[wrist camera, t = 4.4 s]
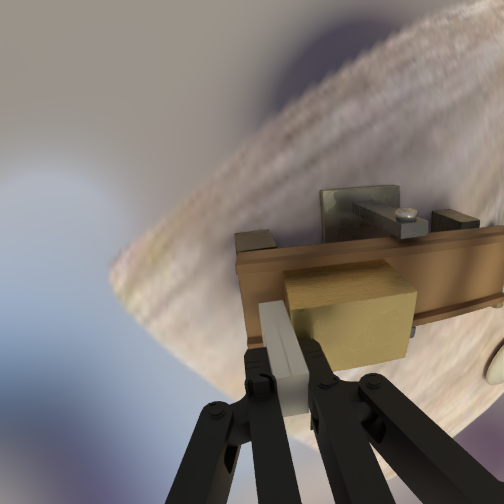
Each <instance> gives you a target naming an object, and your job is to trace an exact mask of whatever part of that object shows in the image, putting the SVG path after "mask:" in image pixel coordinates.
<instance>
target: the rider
mask: <svg viewBox="0 0 504 504" xmlns="http://www.w3.org/2000/svg"><path fill="white" fill-rule="evenodd" d="M283 281H284V294H285V308H286V310H287V313H288V316H289V319H290V321H291V324H292V327H293V329H294V332H295V335H296V338H297V340H298V341H301V340H306V339H312V338H313V339H315V340H316V341H317V342H319V343H320V345H321V348H322V351H323V352H324V354H325V356H326V358H327V361H328V363H329V365H330V367H331V369H332V372H334V371H340V370H346V369H351V368H357V367H362V366H367V365H372V364H377V363H382V362H386V361H391V360H395V359H400V358H404V357H405V356H406V352H407V347H408V343H409V338H410V333H411V328H412V322H413V317H414V311H415V304H416V298H417V291H416V290H415V289H414V288H413V287H412V286H411V285H410V284H409V283H408V282H407V281H406V280H405V279H404V278H403V277H402V276H401V275H400V274H399V273H398V272H397V271H396V270H395V269H394V268H393V267H392V266H391V265H390V264H388V263H387V262H386V261H385V260H384V259H379V260H371V261H363V262H354V263H346V264H337V265H329V266H320V267H311V268H302V269H292V270H283Z"/></svg>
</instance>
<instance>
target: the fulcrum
mask: <svg viewBox="0 0 504 504" xmlns="http://www.w3.org/2000/svg"><path fill="white" fill-rule="evenodd" d="M320 198H321V215H322V235H323V244H326V243H335V242H345V241H355V240H365V239H375V238H384V237H394V236H396V237H398V238H400V239H404V238H411V237H418V236H425V235H428V222H429V221H427V220H425V219H422V218H420V217H417V210H415V209H412V208H400V189H399V186H397V185H387V186H371V187H356V188H343V189H331V190H320ZM479 227H480V220H479V219H476V218H473V217H471V216H468V215H465V214H462V213H460V212H457V211H454V210H451V209H450V210H439V211H432V226H431V233H433V232H443V231H453V230H463V229H473V228H479ZM235 244H236V255H237V254H238V252H248V251H258V250H267V249H277V245H276V243H275V241H274V239H273V238H272V236H271V234H270V232H269V230H268V229H267V230H259V231H251V232H244V233H236V234H235ZM415 329H416V327H415V326H414V327H412V328H411V333H410V338H413V337H414V334H415Z"/></svg>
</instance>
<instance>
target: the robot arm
mask: <svg viewBox="0 0 504 504" xmlns="http://www.w3.org/2000/svg"><path fill="white" fill-rule="evenodd" d="M258 305H259V313H260V321H261V330H262V338H263V344H264V347H261V348H253V349H247V351H246V353H245V355H244V363H245V374H246V380H245V389H246V395H245V396H244V397H243V398H242V399H241V400H240V401H237V402H235V403H233V404H230V405H229V404H227V403H226V402H221V401H215V402H212V403H209V404H207V405H206V406H205V407H204V408H203V409H202V411H201V413H200V416H199V419H198V421H197V424H196V426H195V429H194V431H193V434H192V436H191V439H190V442H189V444H188V446H187V449H186V452H185V454H184V457H183V459H182V462H181V464H180V467H179V469H178V472H177V474H176V477H175V479H174V482H173V485H172V487H171V489H170V492H169V494H168V497H167V499H166V502H165V504H226V503H227V499H228V496H229V492H230V488H231V484H232V480H233V476H234V472H235V468H236V464H237V460H238V456H239V452H240V448H241V445H242V444H244V443H247V442H249V441H251V442H252V451H253V461H254V469H255V479H256V487H257V495H258V504H302V503H301V498H300V494H299V489H298V485H297V480H296V475H295V471H294V466H293V461H292V457H291V452H290V448H289V443H288V438H287V434H286V429H285V424H284V420H283V417H287V416H293V415H299V414H304V413H309V409H310V412H311V426H310V427H311V430H314V433H315V436H316V440H317V443H318V447H319V450H320V453H321V457H322V460H323V463H324V466H325V470H326V473H327V477H328V480H329V484H330V487H331V490H332V494H333V497H334V501H335V504H396V503H395V501H394V498H393V496H392V494H391V491H390V489H389V487H388V484H387V482H386V479H385V477H384V475H383V473H382V470H381V468H380V466H379V463H378V461H377V459H376V456H375V454H374V452H373V450H372V447H371V445H372V446H373V447H374V448H375V449H376V450H377V452H378V453H379V454H380V455H381V456H382V457H383V459H384V460H385V461H386V462H387V463H388V464H389V466H390V467H391V468H392V469H393V470H394V471H395V473H396V474H397V475H398V476H399V477H400V478H401V479H402V481H403V482H404V483H405V484H406V485H407V486H408V487H409V488H410V490H411V491H412V492H413V493H414V494H415V495H416V496H417V498H419V500H420V501H421V502H422V503H423V504H504V482H501V481H498V480H497V479H496V478H495V477H494V476H493V475H492V474H491V473H490V472H488V471H487V470H486V469H485V468H484V467H483V466H482V465H481V464H480V463H479V462H477V461H476V460H475V459H474V458H473V457H472V456H471V455H470V454H468V452H467V451H465V450H464V449H463V448H462V447H461V446H460V445H459V444H458V443H457V442H456V441H454V440H453V439H452V438H451V437H450V436H449V435H448V434H447V433H446V432H445V431H443V430H442V429H441V428H440V427H439V426H438V425H437V424H436V423H435V422H434V421H433V420H431V419H430V418H429V417H428V416H427V415H426V414H425V413H424V412H423V411H422V410H420V409H419V408H418V407H417V406H416V405H415V404H414V403H413V402H412V401H411V400H410V399H408V398H407V397H406V396H405V395H404V394H403V393H402V392H401V391H400V390H399V389H398V388H396V387H395V386H394V385H393V384H392V383H391V382H390V381H389V380H388V379H387V378H386V377H384V376H383V375H381V374H377V373H369V374H366V375H364V376H363V377H361V379H360V381H359V382H349V381H343V380H340V378H339V377H338V376H336V375H334V374H333V372H332V369H331V367H330V365H329V363H328V361H327V358H326V356H325V354H324V352H323V351H322V348H321V345H320V343H319V342H317V341H316V340H315V339H313V338H312V339H306V340H301V341H298V340H297V338H296V335H295V332H294V329H293V327H292V324H291V321H290V319H289V316H288V313H287V310H286V308H285V305H284V302H283V300H279V301H273V302H266V303H259V304H258ZM369 442H370V443H371V445H370V443H369Z"/></svg>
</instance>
